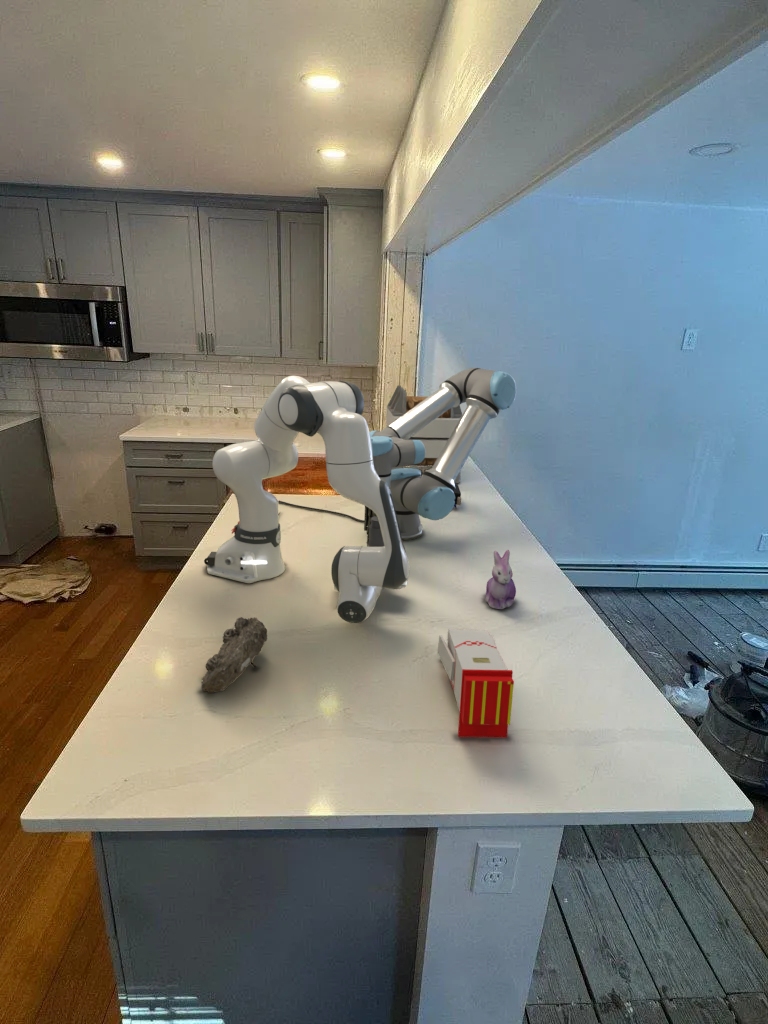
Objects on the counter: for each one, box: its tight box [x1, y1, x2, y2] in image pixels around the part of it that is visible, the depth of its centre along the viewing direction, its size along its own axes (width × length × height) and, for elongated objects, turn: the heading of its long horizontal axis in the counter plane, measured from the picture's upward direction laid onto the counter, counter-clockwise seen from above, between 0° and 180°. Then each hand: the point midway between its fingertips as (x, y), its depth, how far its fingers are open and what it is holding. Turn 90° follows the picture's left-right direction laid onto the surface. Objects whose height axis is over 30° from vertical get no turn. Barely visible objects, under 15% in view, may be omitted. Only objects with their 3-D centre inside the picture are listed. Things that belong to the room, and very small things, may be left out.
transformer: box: [385, 384, 463, 484], centre depth 268 cm, size 34×33×41 cm
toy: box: [437, 628, 515, 738], centre depth 117 cm, size 12×13×30 cm
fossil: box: [201, 616, 268, 694], centre depth 122 cm, size 22×10×15 cm
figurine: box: [484, 549, 517, 610], centre depth 153 cm, size 9×10×15 cm
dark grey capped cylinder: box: [369, 516, 384, 547], centre depth 159 cm, size 4×4×20 cm
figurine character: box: [453, 483, 462, 510], centre depth 230 cm, size 7×8×15 cm
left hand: (376, 562), depth 161 cm, fingers closed on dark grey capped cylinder, 4 cm apart
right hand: (374, 557), depth 180 cm, fingers closed on lid, 5 cm apart
